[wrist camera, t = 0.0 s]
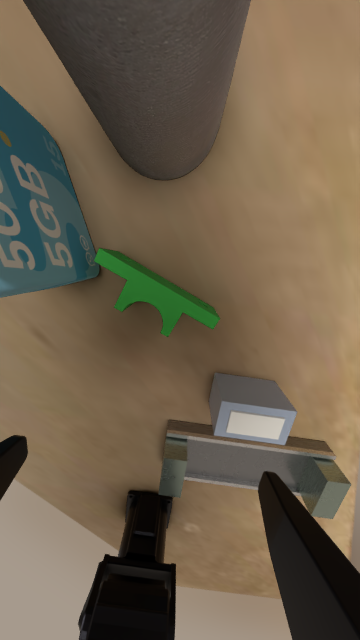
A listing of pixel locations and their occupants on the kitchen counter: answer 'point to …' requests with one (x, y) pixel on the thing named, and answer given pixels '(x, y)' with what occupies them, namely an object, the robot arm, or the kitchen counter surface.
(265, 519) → the robot arm
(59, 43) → the pillar candle
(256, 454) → the rail
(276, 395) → the block
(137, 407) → the kitchen counter surface
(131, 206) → the kitchen counter surface
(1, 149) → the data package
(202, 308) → the pipe clamp
